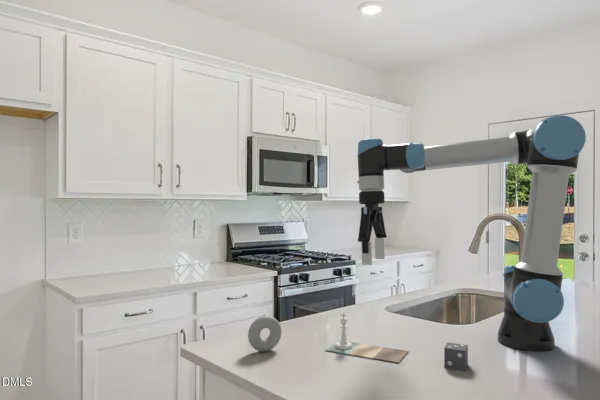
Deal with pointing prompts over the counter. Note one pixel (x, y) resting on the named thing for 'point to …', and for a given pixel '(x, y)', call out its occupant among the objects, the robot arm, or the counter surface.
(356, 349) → the track
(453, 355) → the die
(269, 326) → the donut
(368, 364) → the counter surface
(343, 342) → the chess piece
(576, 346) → the counter surface
